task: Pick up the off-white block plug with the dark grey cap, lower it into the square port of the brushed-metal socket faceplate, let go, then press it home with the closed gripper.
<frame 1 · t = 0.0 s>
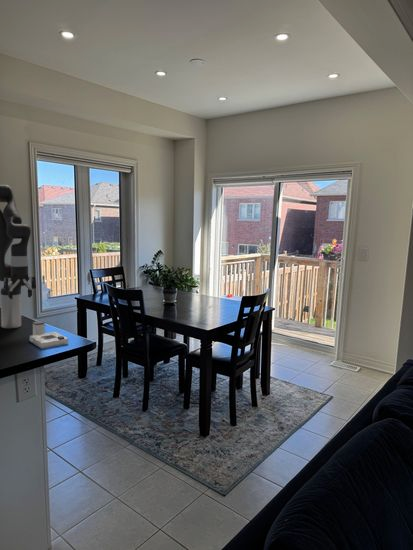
hand: (20, 298, 187), 17 cm above the table, fingers open, 8 cm apart
plug: (38, 336, 183), on the table
socket: (48, 342, 174), on the table
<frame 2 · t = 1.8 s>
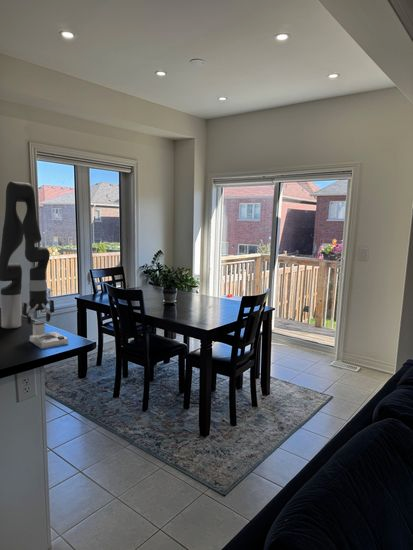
hand: (38, 322, 181), 7 cm above the table, fingers open, 8 cm apart
nothing on the table moved.
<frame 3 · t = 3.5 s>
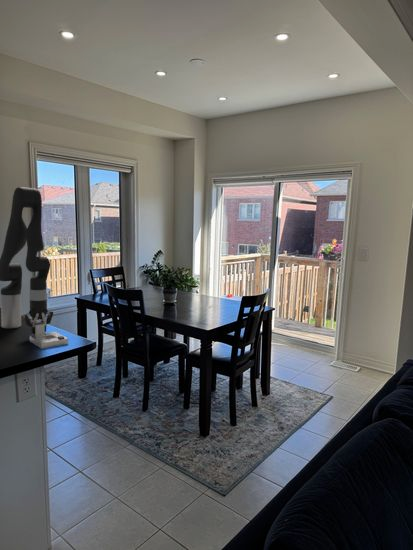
hand: (38, 333, 182), 1 cm above the table, fingers closed on plug, 4 cm apart
plug: (38, 336, 183), on the table, touching gripper
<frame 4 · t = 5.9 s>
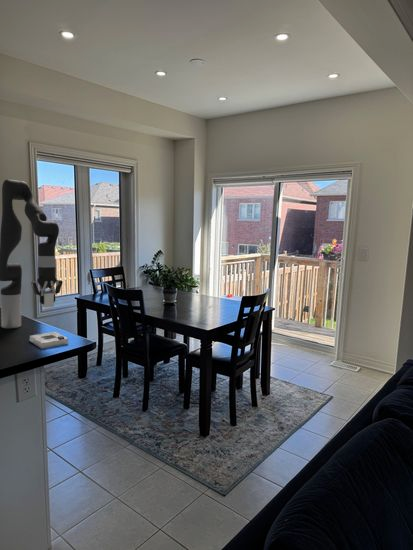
hand: (47, 303, 173), 18 cm above the table, fingers closed on plug, 4 cm apart
plug: (47, 306, 173), point 17 cm above the table, touching gripper
when the fingers open (3 cm above the table, at t = 8.8 s): plug drops 2 cm, resting in socket.
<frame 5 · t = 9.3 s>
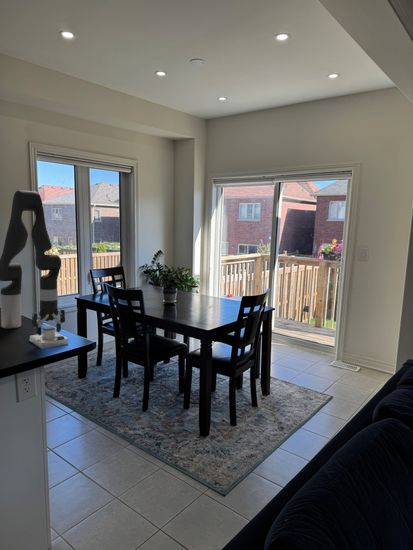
hand: (48, 333, 174), 4 cm above the table, fingers open, 8 cm apart
plug: (48, 342, 174), resting in socket
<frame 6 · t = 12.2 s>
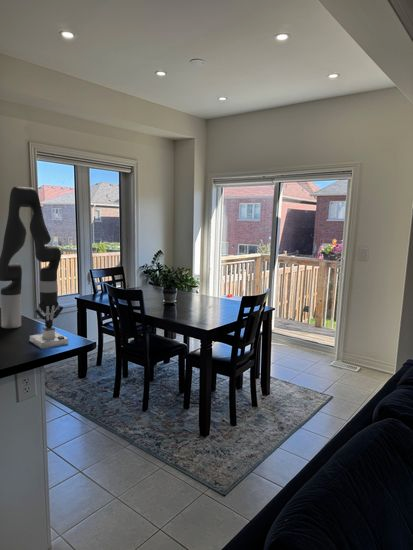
hand: (48, 327, 173), 7 cm above the table, fingers closed
plug: (48, 342, 174), resting in socket, touching gripper
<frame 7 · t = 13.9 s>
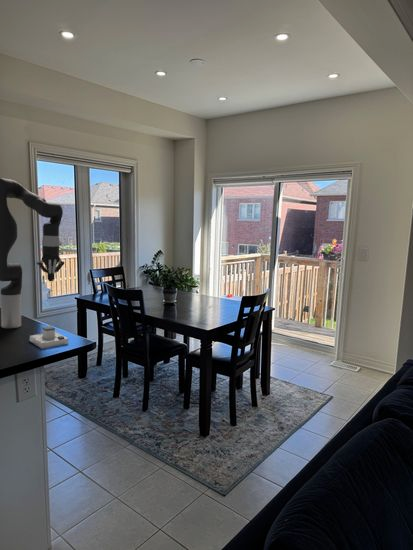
hand: (50, 280, 183), 27 cm above the table, fingers closed
plug: (48, 342, 174), resting in socket
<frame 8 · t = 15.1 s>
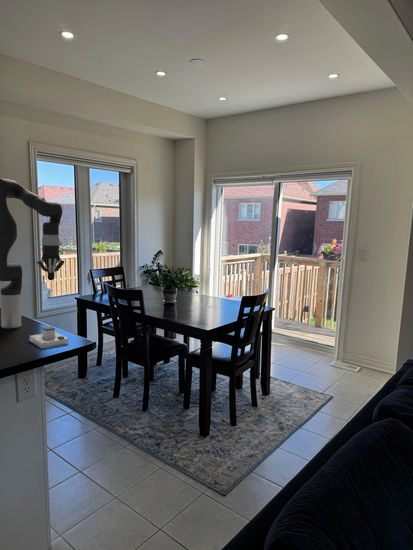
hand: (51, 280, 184), 27 cm above the table, fingers closed
nothing on the table moved.
at the end: plug 0.1 cm from the socket (horizontally); plug resting in socket; plug tilted 0° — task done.
